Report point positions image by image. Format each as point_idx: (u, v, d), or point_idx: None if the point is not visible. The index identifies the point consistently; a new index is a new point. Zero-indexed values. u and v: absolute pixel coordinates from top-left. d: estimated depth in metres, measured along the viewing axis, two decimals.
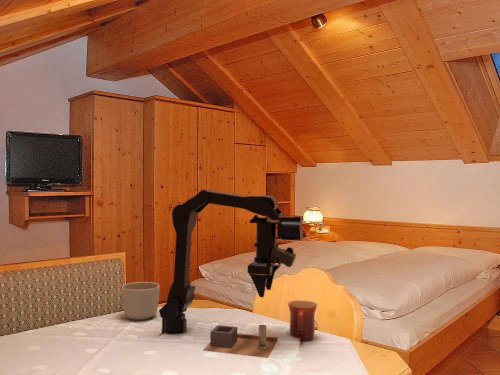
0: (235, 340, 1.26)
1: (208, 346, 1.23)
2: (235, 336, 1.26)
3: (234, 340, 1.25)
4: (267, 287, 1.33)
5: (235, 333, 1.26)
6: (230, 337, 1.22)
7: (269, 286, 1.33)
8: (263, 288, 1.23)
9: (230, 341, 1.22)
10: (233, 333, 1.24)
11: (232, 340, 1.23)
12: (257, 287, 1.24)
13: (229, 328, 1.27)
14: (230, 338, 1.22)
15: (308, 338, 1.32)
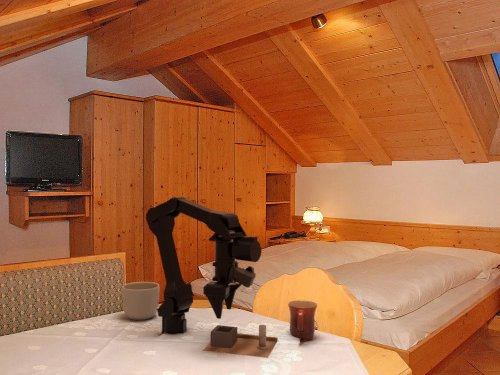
0: (235, 340, 1.26)
1: (208, 346, 1.23)
2: (235, 336, 1.26)
3: (234, 340, 1.25)
4: (227, 306, 1.30)
5: (235, 333, 1.26)
6: (230, 337, 1.22)
7: (229, 306, 1.30)
8: (220, 309, 1.20)
9: (230, 341, 1.22)
10: (233, 333, 1.24)
11: (232, 340, 1.23)
12: (214, 308, 1.21)
13: (229, 328, 1.27)
14: (230, 338, 1.22)
15: (308, 338, 1.32)
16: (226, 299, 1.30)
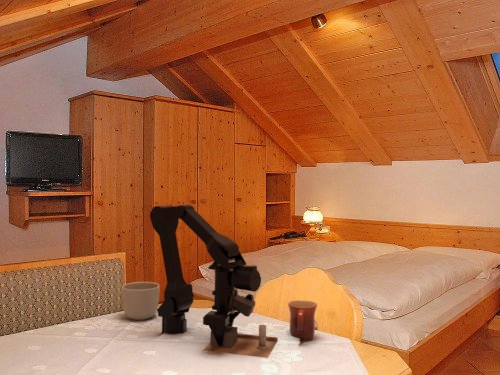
0: (235, 340, 1.26)
1: (208, 346, 1.23)
2: (235, 336, 1.26)
3: (234, 340, 1.25)
4: None
5: (235, 333, 1.26)
6: (230, 337, 1.22)
7: None
8: (221, 337, 1.22)
9: (230, 341, 1.22)
10: (233, 333, 1.24)
11: (232, 340, 1.23)
12: (215, 336, 1.22)
13: (229, 328, 1.27)
14: (230, 338, 1.22)
15: (308, 338, 1.32)
16: None
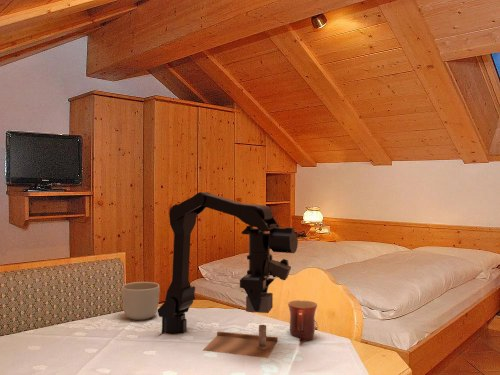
0: (271, 306, 1.23)
1: (208, 346, 1.23)
2: (271, 302, 1.23)
3: (270, 306, 1.23)
4: None
5: (271, 299, 1.23)
6: (267, 301, 1.19)
7: None
8: (258, 302, 1.19)
9: (267, 306, 1.19)
10: (269, 298, 1.21)
11: (268, 304, 1.20)
12: (252, 301, 1.19)
13: (264, 294, 1.25)
14: (267, 303, 1.19)
15: (308, 338, 1.32)
16: None
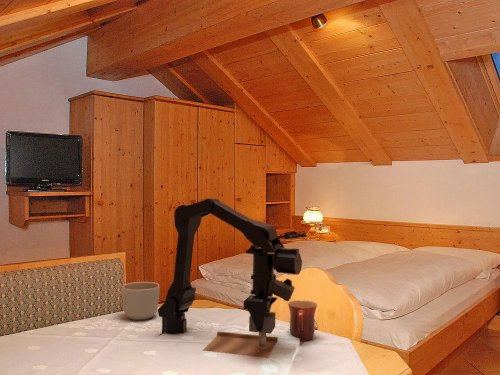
0: (274, 326, 1.23)
1: (208, 346, 1.23)
2: (274, 321, 1.23)
3: (273, 326, 1.23)
4: None
5: (274, 318, 1.23)
6: (270, 322, 1.19)
7: None
8: (261, 322, 1.19)
9: (270, 326, 1.19)
10: (272, 318, 1.21)
11: (271, 325, 1.20)
12: (255, 321, 1.19)
13: (267, 314, 1.25)
14: (270, 323, 1.19)
15: (308, 338, 1.32)
16: None
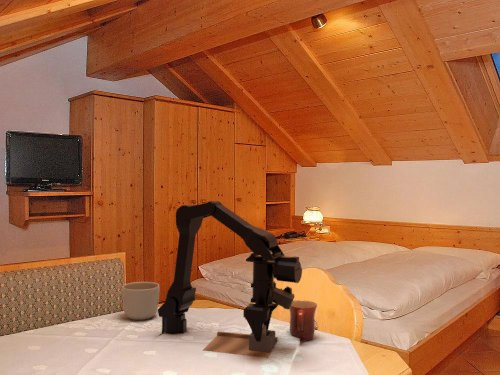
0: (273, 344, 1.23)
1: (208, 346, 1.23)
2: (273, 340, 1.23)
3: (273, 344, 1.23)
4: None
5: (273, 337, 1.23)
6: (269, 341, 1.19)
7: (266, 327, 1.27)
8: (260, 332, 1.17)
9: (269, 345, 1.19)
10: (272, 337, 1.21)
11: (271, 344, 1.20)
12: (253, 331, 1.18)
13: (267, 332, 1.25)
14: (269, 342, 1.19)
15: (308, 338, 1.32)
16: None
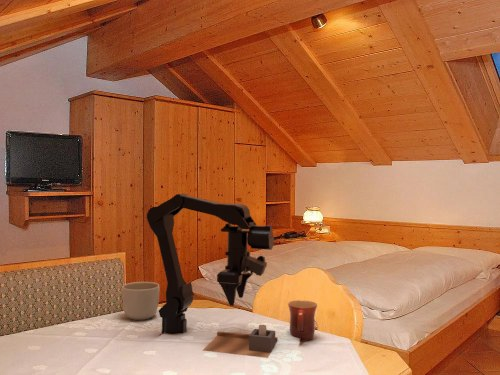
0: (273, 344, 1.23)
1: (208, 346, 1.23)
2: (273, 340, 1.23)
3: (273, 344, 1.23)
4: (239, 295, 1.34)
5: (273, 337, 1.23)
6: (269, 341, 1.19)
7: (241, 294, 1.34)
8: (233, 296, 1.24)
9: (269, 345, 1.19)
10: (272, 337, 1.21)
11: (271, 344, 1.20)
12: (227, 295, 1.25)
13: (267, 332, 1.25)
14: (269, 342, 1.19)
15: (308, 338, 1.32)
16: (238, 288, 1.35)
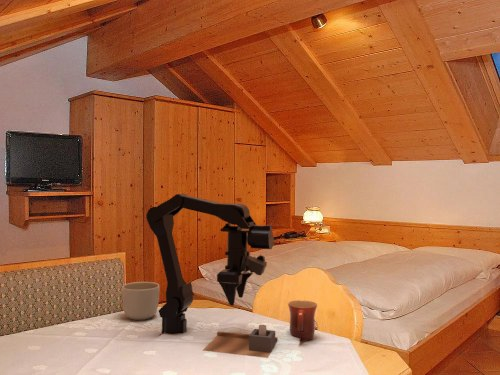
0: (273, 344, 1.23)
1: (208, 346, 1.23)
2: (273, 340, 1.23)
3: (273, 344, 1.23)
4: (239, 295, 1.34)
5: (273, 337, 1.23)
6: (269, 341, 1.19)
7: (241, 294, 1.34)
8: (233, 296, 1.24)
9: (269, 345, 1.19)
10: (272, 337, 1.21)
11: (271, 344, 1.20)
12: (227, 295, 1.25)
13: (267, 332, 1.25)
14: (269, 342, 1.19)
15: (308, 338, 1.32)
16: (238, 287, 1.35)
